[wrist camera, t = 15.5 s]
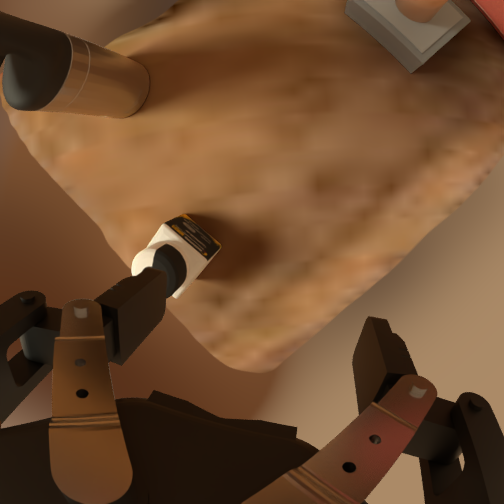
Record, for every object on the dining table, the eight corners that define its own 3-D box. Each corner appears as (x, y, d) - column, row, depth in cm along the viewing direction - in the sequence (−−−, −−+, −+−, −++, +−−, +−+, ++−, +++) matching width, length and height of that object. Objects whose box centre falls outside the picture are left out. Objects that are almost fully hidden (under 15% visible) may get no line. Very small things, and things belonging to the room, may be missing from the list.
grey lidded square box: (344, 12, 31) (348, -4, 26) (395, -25, 27) (403, -42, 22) (410, 73, 32) (423, 63, 27) (457, 31, 28) (472, 20, 23)
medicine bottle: (223, 245, 44) (193, 276, 32) (194, 280, 46) (160, 318, 35) (184, 212, 43) (142, 232, 32) (158, 248, 46) (114, 277, 34)
